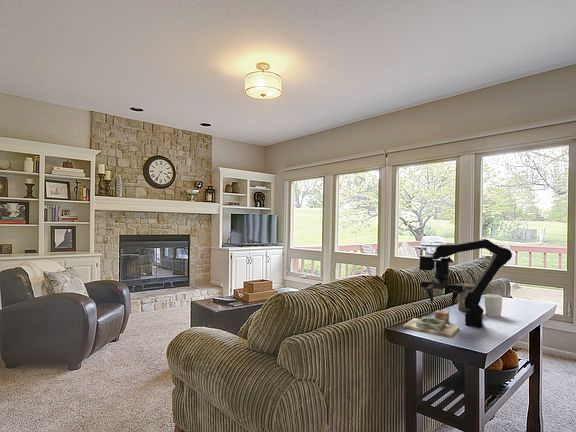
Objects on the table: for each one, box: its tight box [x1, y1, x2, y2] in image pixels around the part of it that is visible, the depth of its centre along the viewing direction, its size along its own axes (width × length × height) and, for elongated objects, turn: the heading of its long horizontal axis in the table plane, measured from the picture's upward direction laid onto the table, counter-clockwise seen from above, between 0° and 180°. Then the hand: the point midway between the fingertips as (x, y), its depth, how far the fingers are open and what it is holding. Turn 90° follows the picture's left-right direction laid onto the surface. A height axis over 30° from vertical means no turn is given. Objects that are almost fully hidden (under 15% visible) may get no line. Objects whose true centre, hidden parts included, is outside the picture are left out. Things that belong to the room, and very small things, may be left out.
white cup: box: [484, 293, 503, 318], centre depth 179 cm, size 8×8×10 cm
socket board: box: [402, 316, 460, 338], centre depth 158 cm, size 20×14×3 cm
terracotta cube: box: [434, 309, 450, 324], centre depth 167 cm, size 5×5×5 cm
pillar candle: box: [457, 282, 476, 313], centre depth 188 cm, size 10×10×15 cm
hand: (442, 304), depth 167 cm, fingers open, 9 cm apart
